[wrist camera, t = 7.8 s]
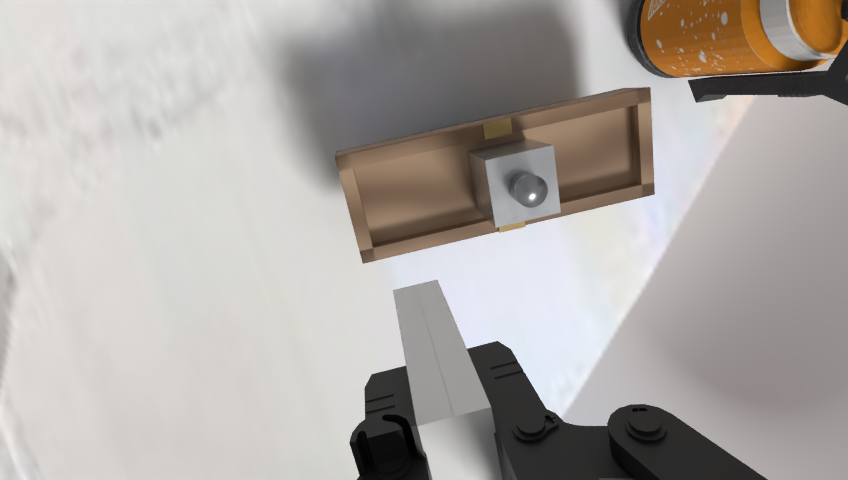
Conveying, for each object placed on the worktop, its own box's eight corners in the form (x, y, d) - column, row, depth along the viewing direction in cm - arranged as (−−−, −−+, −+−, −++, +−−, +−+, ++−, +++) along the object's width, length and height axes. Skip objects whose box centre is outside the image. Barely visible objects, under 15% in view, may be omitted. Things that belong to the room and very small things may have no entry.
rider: (467, 151, 34) (491, 164, 27) (526, 138, 34) (563, 147, 28) (477, 209, 35) (502, 234, 29) (533, 196, 35) (570, 218, 29)
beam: (339, 145, 39) (334, 156, 31) (598, 88, 40) (651, 86, 33) (362, 235, 41) (363, 265, 34) (605, 178, 43) (656, 195, 35)
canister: (726, -43, 38) (1083, -177, 19) (716, 95, 42) (1012, 95, 23) (624, -31, 38) (893, -158, 19) (623, 109, 41) (849, 121, 22)
